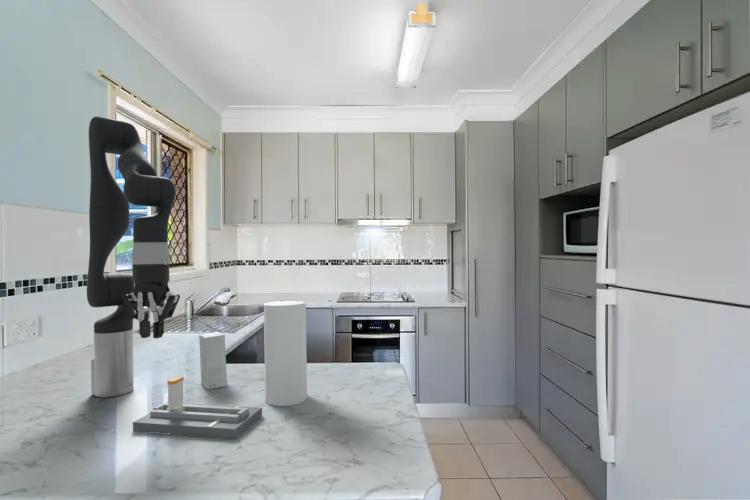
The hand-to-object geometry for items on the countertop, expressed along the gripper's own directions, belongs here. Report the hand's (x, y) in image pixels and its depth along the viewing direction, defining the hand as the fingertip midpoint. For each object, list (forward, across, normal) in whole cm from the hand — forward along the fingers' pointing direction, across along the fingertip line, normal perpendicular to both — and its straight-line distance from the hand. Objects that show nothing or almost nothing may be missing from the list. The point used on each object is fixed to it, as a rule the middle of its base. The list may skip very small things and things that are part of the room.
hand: (151, 337), depth 95 cm
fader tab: (+17, +6, 0) cm, 18 cm away
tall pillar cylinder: (+19, +25, +18) cm, 36 cm away
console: (+19, +12, 0) cm, 23 cm away
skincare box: (+19, -1, +26) cm, 32 cm away
